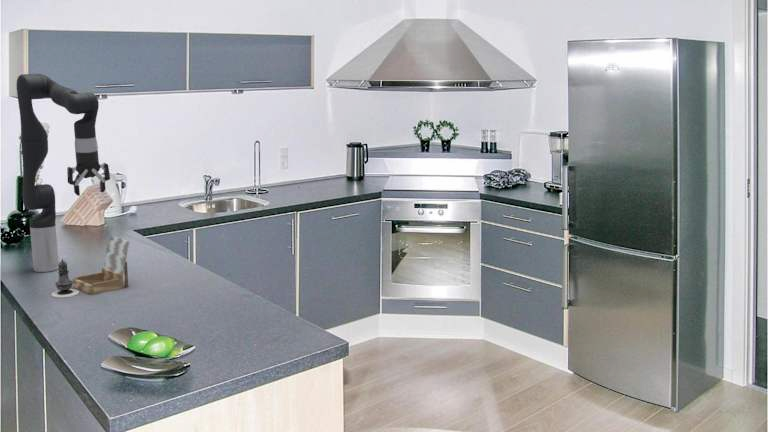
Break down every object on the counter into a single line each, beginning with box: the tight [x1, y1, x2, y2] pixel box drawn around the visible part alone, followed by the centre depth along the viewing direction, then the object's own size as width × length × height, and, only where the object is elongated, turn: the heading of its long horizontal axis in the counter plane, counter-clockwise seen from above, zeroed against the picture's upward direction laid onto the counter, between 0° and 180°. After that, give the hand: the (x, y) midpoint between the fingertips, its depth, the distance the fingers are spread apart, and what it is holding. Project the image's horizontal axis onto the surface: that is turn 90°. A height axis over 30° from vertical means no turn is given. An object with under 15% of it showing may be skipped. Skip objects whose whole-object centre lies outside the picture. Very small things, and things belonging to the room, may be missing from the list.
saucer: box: [51, 288, 80, 299], centre depth 286 cm, size 9×9×1 cm
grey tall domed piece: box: [54, 258, 73, 295], centre depth 285 cm, size 6×6×12 cm
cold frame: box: [72, 235, 130, 295], centre depth 294 cm, size 14×15×17 cm
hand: (90, 193), depth 297 cm, fingers open, 8 cm apart
